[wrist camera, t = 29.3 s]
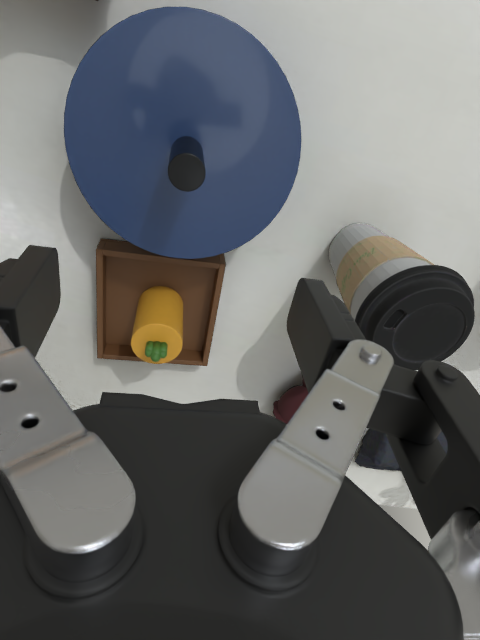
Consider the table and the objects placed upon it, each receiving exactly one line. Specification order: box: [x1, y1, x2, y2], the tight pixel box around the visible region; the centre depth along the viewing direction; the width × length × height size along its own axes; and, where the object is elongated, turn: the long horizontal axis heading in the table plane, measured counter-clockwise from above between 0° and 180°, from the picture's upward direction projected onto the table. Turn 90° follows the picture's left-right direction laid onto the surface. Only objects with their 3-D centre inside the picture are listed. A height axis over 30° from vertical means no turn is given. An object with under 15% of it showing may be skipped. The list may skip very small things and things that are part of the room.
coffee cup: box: [329, 223, 474, 370], centre depth 37 cm, size 9×9×15 cm
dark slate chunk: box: [355, 429, 448, 471], centre depth 61 cm, size 15×22×5 cm
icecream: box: [273, 379, 309, 424], centre depth 52 cm, size 7×7×15 cm
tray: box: [96, 238, 226, 366], centre depth 43 cm, size 12×13×2 cm
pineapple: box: [131, 286, 183, 364], centre depth 40 cm, size 5×5×9 cm
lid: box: [64, 7, 301, 259], centre depth 28 cm, size 17×17×7 cm
